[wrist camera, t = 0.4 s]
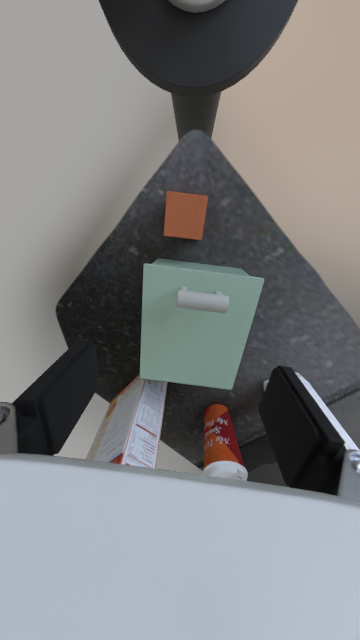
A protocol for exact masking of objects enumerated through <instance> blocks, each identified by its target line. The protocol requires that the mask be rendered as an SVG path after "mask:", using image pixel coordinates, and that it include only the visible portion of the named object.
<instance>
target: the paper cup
mask: <svg viewBox="0 0 360 640" xmlns="http://www.w3.org/2000/svg"><path fill="white" fill-rule="evenodd" d="M203 475H205V476H213V477H220V478H227V479H234V480H241V481H247V480H246V479H247V476H248V473H247V470H246V469H245V467H244V465H243V461H242V457H241V453H240V450H239V446H238V442H237V438H236V435H235V431H234V427H233V424H232V420H231V416H230V413H229V410H228V409H227V407H225V406H223V405H220V404H214V405H211V406H209V407H207V409H206V410H205V429H204V470H203Z"/></svg>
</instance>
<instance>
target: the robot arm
mask: <svg viewBox="0 0 360 640" xmlns="http://www.w3.org/2000/svg"><path fill="white" fill-rule="evenodd" d="M168 1H170V2H171V3H172V4H173V5H174V6H176V7H178V8H180V9H182V10H184V11H188V12H193V13H197V12H206V11H208V10H211V9H213V8H216V7H217V6H219V5H220V4H221V3H223V2H224V1H226V0H168ZM97 387H98V376H97V360H96V346H95V344H93V343H92V341H91V340H85V339H79V340H78V341H76V342H75V343H74V344H73V345H72V346H71V347H70V348H69V349H68V350H67V351H66V352H65V353H64V354H63V355H62V356H61V357H60V358H59V359H58V360H57V361H56V362H55V363H54V364H53V365H51V366H50V367H49V368H48V369H47V371H45V372H44V373H43V374H42V375H41V376H40V377H39V378H38V379H37V380H36V381H35V382H34V383H33V384H32V385H31V386H30V387H29V388H28V389H27V390H26V391H24V393H22V394H21V395H20V396H19V397H18V398H17V399H16V400H15V401H14V402H13V403H12V404H11V403H8V402H0V640H360V451H359V450H356V449H349V450H347V449H346V448H345V446H344V443H345V441H344V440H343V439H342V437H341V436H340V435H339V433H338V432H337V430H336V429H335V428H334V426H333V425H332V423H331V422H330V421H329V419H328V418H327V416H326V415H325V414H324V412H323V411H322V409H321V408H320V407H319V405H318V404H317V403H316V401H315V400H314V398H313V397H312V396H311V394H310V393H309V391H308V390H307V389H306V387H305V386H304V384H303V383H302V382H301V380H300V379H299V377H298V376H297V375H296V373H295V372H294V371H293V369H292V368H291V367H285V366H278V367H277V368H274V369H273V371H272V374H271V376H270V379H269V381H268V384H267V387H266V389H265V392H264V394H263V397H262V399H261V402H260V404H259V413H260V416H261V419H262V422H263V424H264V427H265V430H266V433H267V435H268V438H269V441H270V443H271V446H272V449H273V452H274V454H275V457H276V460H277V463H278V465H279V468H280V471H281V473H282V476H283V479H284V481H285V483H286V484H287V485H289V487H290V488H289V487H283V486H276V485H269V484H262V483H255V482H247V481H241V480H234V479H227V478H220V477H213V476H205V475H198V474H191V473H183V472H176V471H169V470H160V469H154V468H146V467H139V466H131V465H123V464H116V463H108V462H100V461H93V460H84V459H76V458H67V457H58V456H53V455H54V454H57V453H59V451H60V450H61V448H62V447H63V445H64V443H65V442H66V440H67V438H68V437H69V435H70V433H71V431H72V430H73V428H74V427H75V425H76V423H77V422H78V420H79V418H80V417H81V415H82V413H83V412H84V410H85V408H86V407H87V405H88V403H89V402H90V400H91V398H92V397H93V395H94V393H95V392H96V390H97Z"/></svg>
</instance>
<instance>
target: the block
mask: <svg viewBox="0 0 360 640" xmlns="http://www.w3.org/2000/svg"><path fill="white" fill-rule="evenodd" d="M207 200H208V196H203V195H195V194H187V193H179V192H171V191H167V197H166V211H165V225H164V236H170V237H178V238H186V239H194V240H202V234H203V227H204V221H205V214H206V207H207Z"/></svg>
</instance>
